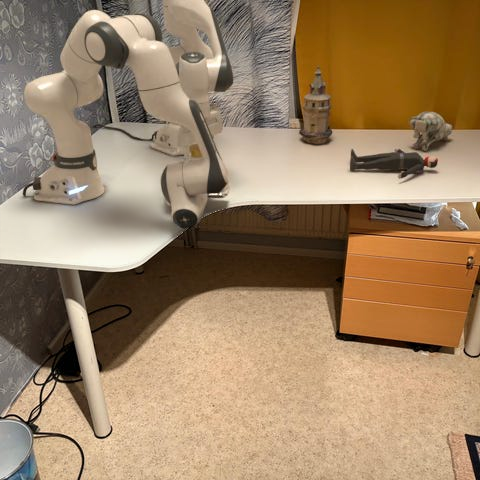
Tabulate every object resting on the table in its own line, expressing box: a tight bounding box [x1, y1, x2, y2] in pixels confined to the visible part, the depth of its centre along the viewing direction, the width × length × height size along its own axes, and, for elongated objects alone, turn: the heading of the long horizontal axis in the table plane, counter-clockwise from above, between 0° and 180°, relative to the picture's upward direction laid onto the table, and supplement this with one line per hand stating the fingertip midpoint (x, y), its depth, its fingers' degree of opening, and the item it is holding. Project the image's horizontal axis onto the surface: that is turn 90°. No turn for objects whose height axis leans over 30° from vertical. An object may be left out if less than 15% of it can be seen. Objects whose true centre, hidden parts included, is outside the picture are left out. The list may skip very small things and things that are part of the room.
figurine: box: [408, 111, 453, 152], centre depth 210 cm, size 10×19×20 cm
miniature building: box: [298, 65, 333, 145], centre depth 213 cm, size 13×14×30 cm
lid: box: [189, 144, 202, 157], centre depth 168 cm, size 5×5×2 cm
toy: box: [349, 148, 439, 180], centre depth 190 cm, size 26×6×30 cm
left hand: (199, 177), depth 173 cm, fingers closed on jar, 5 cm apart
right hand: (198, 153), depth 168 cm, fingers open, 8 cm apart
